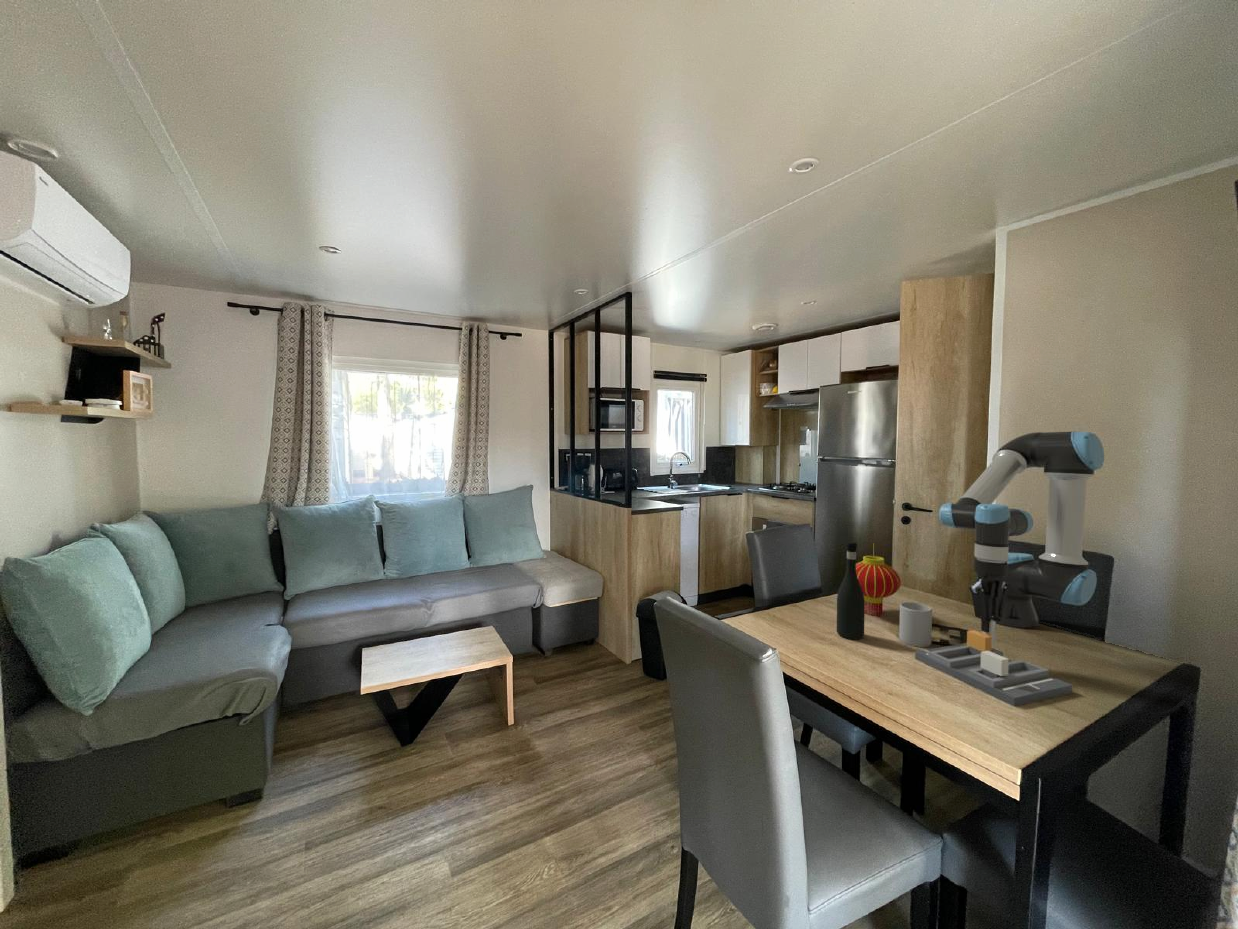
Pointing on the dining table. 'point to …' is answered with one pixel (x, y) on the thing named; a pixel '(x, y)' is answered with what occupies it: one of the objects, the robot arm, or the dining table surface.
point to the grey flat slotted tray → (1013, 688)
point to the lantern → (876, 582)
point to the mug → (915, 624)
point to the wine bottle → (850, 600)
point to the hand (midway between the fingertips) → (988, 642)
